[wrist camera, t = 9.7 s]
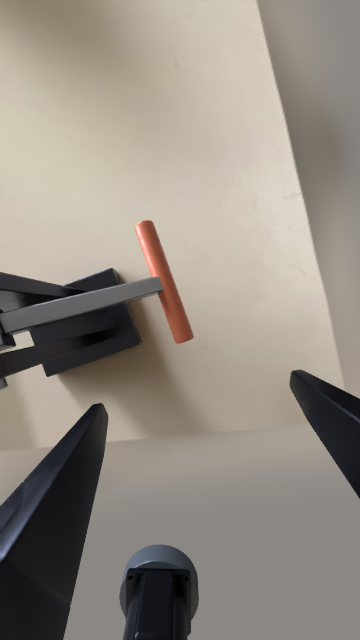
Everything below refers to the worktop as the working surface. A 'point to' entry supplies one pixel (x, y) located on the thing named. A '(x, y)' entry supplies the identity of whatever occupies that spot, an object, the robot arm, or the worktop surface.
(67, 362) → the bracket
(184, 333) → the lever
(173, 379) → the worktop surface
